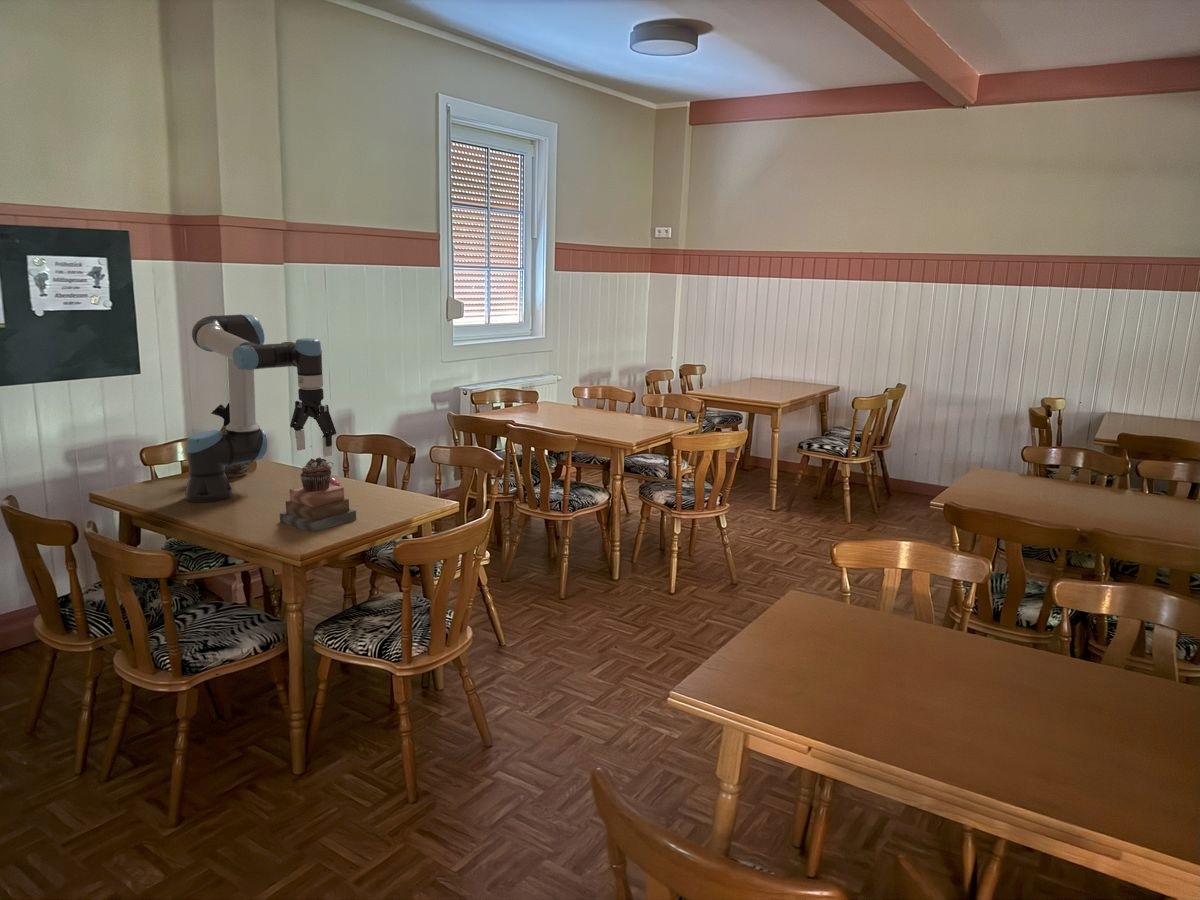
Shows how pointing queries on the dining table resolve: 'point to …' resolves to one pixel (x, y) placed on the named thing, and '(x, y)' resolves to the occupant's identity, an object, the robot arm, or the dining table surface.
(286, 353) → the robot arm
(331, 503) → the stepped pyramid block
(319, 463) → the cupcake
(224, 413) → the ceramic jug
